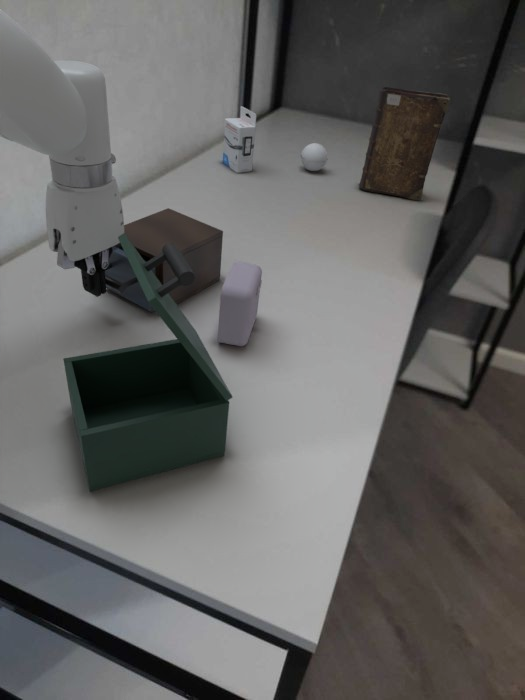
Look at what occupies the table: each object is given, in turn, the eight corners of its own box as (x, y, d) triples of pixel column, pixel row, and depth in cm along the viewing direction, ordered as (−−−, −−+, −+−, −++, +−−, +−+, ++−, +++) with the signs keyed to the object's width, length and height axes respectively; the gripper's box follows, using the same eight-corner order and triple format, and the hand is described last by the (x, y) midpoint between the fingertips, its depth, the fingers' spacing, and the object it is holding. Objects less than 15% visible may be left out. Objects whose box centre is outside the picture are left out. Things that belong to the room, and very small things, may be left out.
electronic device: (247, 351, 78) (253, 295, 72) (217, 345, 79) (220, 289, 73) (258, 315, 86) (265, 262, 80) (231, 310, 87) (235, 257, 81)
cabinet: (163, 312, 84) (163, 259, 78) (109, 283, 89) (105, 232, 83) (220, 279, 94) (223, 231, 88) (168, 255, 99) (168, 208, 93)
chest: (89, 491, 56) (80, 436, 51) (72, 412, 65) (63, 358, 60) (224, 455, 62) (229, 402, 57) (192, 387, 71) (193, 336, 66)
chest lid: (148, 301, 45) (193, 273, 45) (117, 237, 53) (155, 213, 54) (226, 401, 56) (262, 378, 57) (191, 334, 65) (221, 315, 65)
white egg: (301, 164, 150) (305, 137, 146) (326, 169, 149) (331, 142, 145) (294, 174, 143) (298, 147, 138) (320, 179, 142) (325, 152, 137)
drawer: (131, 323, 80) (128, 278, 75) (81, 295, 84) (75, 251, 79) (205, 281, 92) (207, 240, 87) (158, 258, 96) (157, 218, 91)
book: (357, 190, 138) (380, 87, 123) (359, 181, 144) (382, 82, 129) (420, 202, 136) (451, 99, 121) (420, 193, 141) (450, 93, 126)
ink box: (221, 162, 144) (224, 105, 135) (237, 161, 146) (241, 105, 138) (236, 173, 139) (241, 114, 130) (252, 171, 141) (258, 114, 132)
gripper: (106, 151, 74) (115, 265, 85) (12, 175, 64) (36, 301, 75) (145, 166, 71) (149, 282, 82) (52, 193, 61) (71, 322, 72)
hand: (95, 291), depth 78 cm, fingers closed
